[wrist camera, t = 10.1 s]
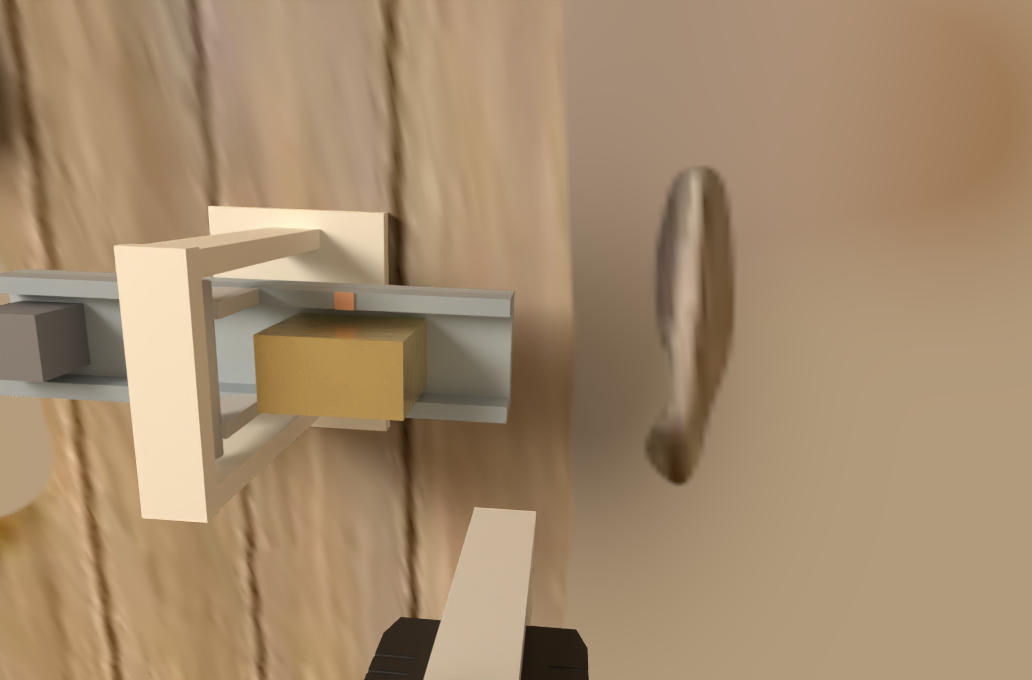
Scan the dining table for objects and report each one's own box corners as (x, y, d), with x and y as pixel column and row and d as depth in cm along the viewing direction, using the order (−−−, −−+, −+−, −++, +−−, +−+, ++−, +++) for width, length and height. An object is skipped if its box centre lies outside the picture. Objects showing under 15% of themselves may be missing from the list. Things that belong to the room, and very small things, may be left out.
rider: (299, 312, 36) (252, 334, 30) (426, 318, 35) (403, 341, 30) (301, 379, 37) (257, 412, 31) (426, 386, 36) (403, 420, 31)
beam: (24, 253, 38) (-115, 270, 30) (515, 274, 36) (502, 297, 28) (43, 394, 39) (-83, 444, 32) (510, 420, 38) (496, 479, 30)
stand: (216, 205, 42) (16, 216, 27) (388, 212, 41) (281, 227, 26) (230, 416, 45) (59, 532, 30) (390, 425, 44) (296, 549, 29)
